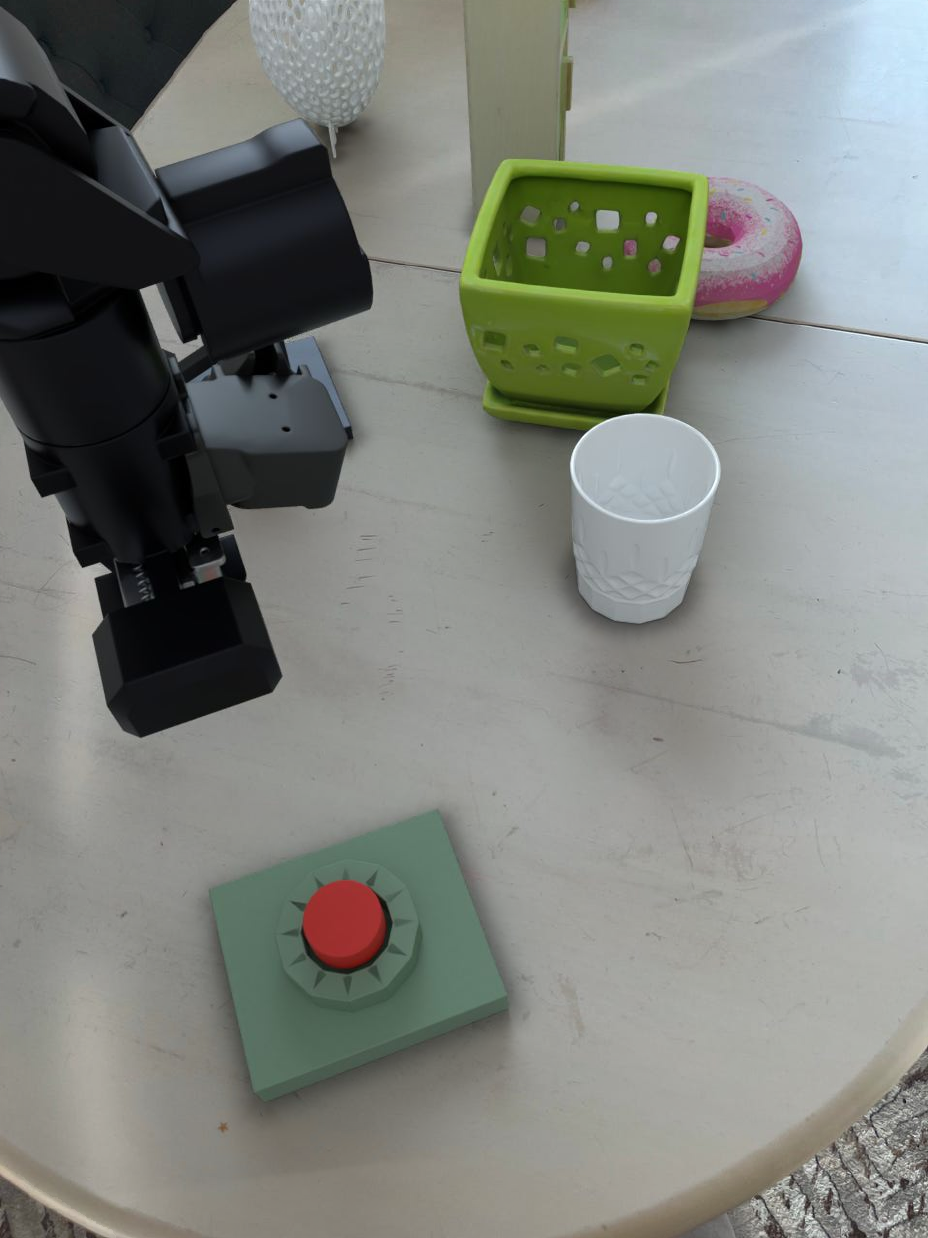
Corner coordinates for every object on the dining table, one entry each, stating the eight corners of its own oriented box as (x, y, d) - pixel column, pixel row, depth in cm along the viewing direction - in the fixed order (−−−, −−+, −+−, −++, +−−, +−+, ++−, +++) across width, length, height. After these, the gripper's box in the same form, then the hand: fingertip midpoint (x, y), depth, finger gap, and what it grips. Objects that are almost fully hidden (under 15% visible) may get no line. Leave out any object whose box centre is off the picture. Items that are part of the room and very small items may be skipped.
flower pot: (670, 467, 69) (693, 310, 59) (462, 442, 72) (449, 286, 61) (692, 326, 77) (716, 165, 66) (504, 307, 79) (498, 149, 69)
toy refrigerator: (565, 236, 84) (571, -53, 67) (473, 232, 85) (456, -54, 68) (574, 178, 88) (583, -108, 71) (487, 174, 89) (474, -108, 72)
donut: (631, 344, 76) (637, 287, 72) (600, 232, 84) (603, 174, 80) (817, 324, 76) (833, 266, 72) (769, 214, 84) (781, 155, 80)
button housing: (263, 1103, 49) (244, 1084, 45) (218, 904, 54) (198, 874, 51) (508, 1009, 50) (506, 984, 47) (441, 825, 56) (434, 792, 53)
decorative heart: (290, 75, 100) (249, -134, 86) (402, 70, 100) (379, -141, 86) (264, 187, 90) (214, -29, 76) (389, 182, 89) (361, -37, 75)
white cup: (633, 656, 61) (648, 548, 53) (539, 577, 65) (539, 464, 57) (725, 580, 64) (752, 466, 56) (629, 509, 67) (641, 391, 59)
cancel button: (320, 981, 48) (314, 969, 47) (300, 908, 50) (293, 895, 48) (396, 953, 48) (391, 940, 47) (373, 882, 50) (368, 868, 49)
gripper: (385, 502, 34) (427, 736, 47) (245, 192, 44) (311, 453, 57) (39, 614, 32) (180, 825, 45) (-23, 263, 43) (106, 516, 55)
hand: (203, 634), depth 51 cm, fingers closed
